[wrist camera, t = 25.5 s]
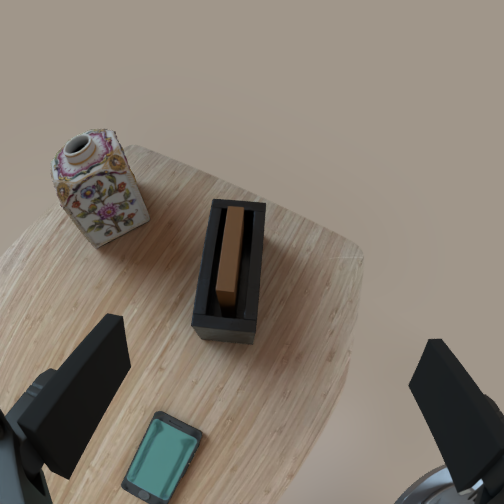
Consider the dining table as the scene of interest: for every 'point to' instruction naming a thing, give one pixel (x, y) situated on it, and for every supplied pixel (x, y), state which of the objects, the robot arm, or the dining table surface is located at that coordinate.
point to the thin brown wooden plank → (231, 262)
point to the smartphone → (161, 459)
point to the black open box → (206, 301)
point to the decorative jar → (98, 186)
